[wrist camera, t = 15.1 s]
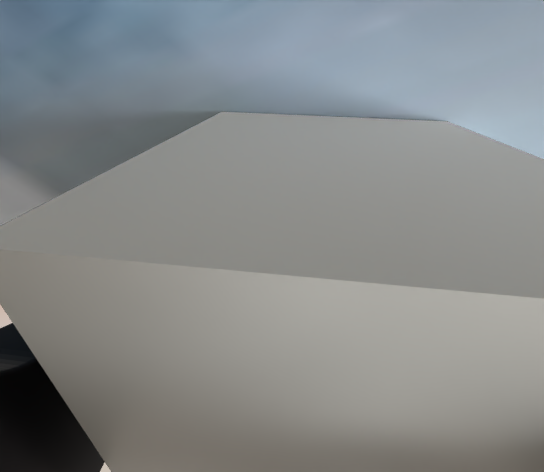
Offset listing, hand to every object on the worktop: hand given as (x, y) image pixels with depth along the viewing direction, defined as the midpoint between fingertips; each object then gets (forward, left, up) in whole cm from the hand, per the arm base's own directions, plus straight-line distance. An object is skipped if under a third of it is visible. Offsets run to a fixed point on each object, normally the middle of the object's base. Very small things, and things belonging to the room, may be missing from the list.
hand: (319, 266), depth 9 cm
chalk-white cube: (0, 0, -3) cm, 3 cm away
